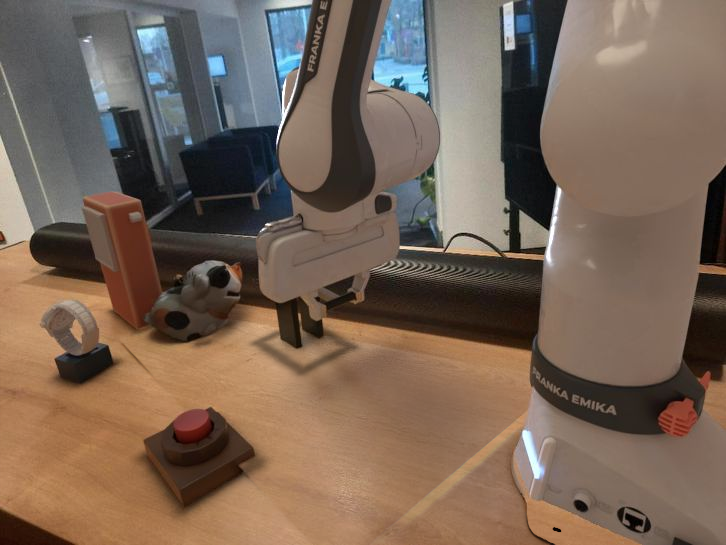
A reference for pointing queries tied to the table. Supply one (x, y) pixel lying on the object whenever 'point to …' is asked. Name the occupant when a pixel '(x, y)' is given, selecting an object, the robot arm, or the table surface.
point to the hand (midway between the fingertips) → (338, 309)
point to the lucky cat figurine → (197, 301)
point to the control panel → (123, 253)
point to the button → (192, 426)
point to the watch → (76, 341)
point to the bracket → (297, 321)
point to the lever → (335, 298)
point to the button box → (198, 458)
